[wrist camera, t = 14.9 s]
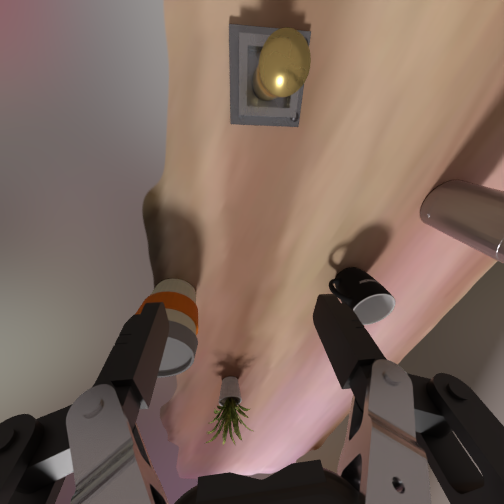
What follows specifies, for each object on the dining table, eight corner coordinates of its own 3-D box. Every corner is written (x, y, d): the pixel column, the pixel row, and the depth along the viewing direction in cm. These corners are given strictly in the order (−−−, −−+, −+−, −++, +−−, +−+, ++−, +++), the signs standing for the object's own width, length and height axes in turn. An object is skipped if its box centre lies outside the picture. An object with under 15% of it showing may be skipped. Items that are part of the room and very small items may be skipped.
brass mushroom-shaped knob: (286, 59, 26) (314, 28, 17) (282, 104, 29) (306, 97, 20) (250, 58, 26) (260, 26, 17) (250, 103, 28) (258, 96, 19)
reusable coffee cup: (165, 261, 42) (138, 322, 29) (215, 290, 47) (211, 351, 34) (134, 297, 46) (100, 365, 33) (183, 320, 51) (170, 384, 39)
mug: (373, 266, 48) (405, 297, 40) (353, 294, 53) (377, 327, 44) (330, 256, 45) (354, 287, 37) (312, 286, 50) (330, 320, 41)
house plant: (196, 385, 69) (188, 451, 55) (218, 364, 63) (216, 432, 50) (231, 393, 74) (233, 455, 60) (255, 375, 69) (262, 438, 55)
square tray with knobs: (308, 33, 26) (316, 25, 24) (296, 126, 31) (302, 127, 29) (228, 26, 25) (229, 17, 23) (230, 124, 30) (230, 124, 28)
